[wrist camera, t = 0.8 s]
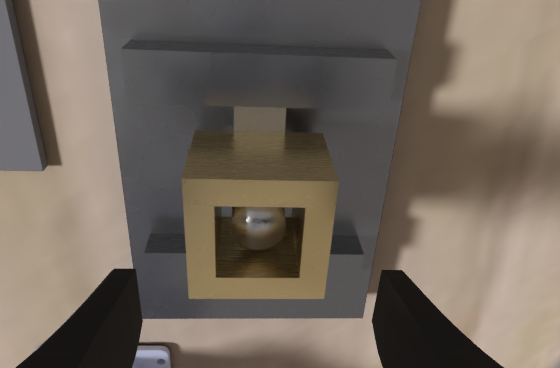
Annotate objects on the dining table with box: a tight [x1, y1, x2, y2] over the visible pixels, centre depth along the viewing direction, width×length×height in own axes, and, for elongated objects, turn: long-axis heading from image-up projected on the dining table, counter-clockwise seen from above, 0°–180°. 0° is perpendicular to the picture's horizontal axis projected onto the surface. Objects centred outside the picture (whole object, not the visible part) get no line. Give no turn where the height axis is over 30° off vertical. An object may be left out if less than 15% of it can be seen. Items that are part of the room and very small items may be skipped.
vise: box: [98, 0, 421, 319], centre depth 19 cm, size 20×12×6 cm, turn 177°
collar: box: [182, 130, 339, 299], centre depth 18 cm, size 5×5×4 cm
